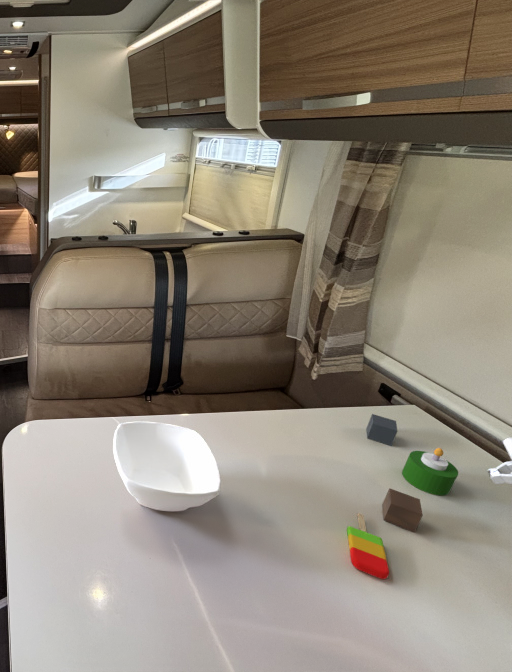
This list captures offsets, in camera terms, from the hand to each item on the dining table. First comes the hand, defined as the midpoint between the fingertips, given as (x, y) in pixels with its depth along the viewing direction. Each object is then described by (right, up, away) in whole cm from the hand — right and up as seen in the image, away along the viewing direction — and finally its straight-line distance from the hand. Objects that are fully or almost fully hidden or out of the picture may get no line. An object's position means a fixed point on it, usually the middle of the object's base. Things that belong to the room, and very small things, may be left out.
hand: (490, 476), depth 93 cm
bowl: (-71, -7, +6) cm, 72 cm away
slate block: (-5, +1, +22) cm, 23 cm away
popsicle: (-33, -11, -6) cm, 36 cm away
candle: (-6, -5, +8) cm, 11 cm away
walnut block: (-21, -9, -1) cm, 23 cm away
